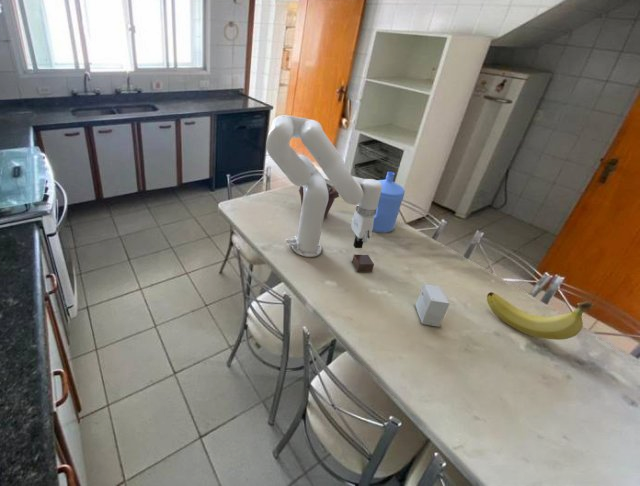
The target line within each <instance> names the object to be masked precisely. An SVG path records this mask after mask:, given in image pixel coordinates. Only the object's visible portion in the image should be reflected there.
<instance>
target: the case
mask: <svg viewBox="0 0 640 486" xmlns="http://www.w3.org/2000/svg"><path fill="white" fill-rule="evenodd" d="M326 185H327V188H328V194H329V199H328V204H327V207H326V210H325V214H324V219H323V220H325V219H326V218H327V216H328V214H329V212H330V211H331V208H332V206H333V203H334V201H335V199H337V198H340V195H339V193H338V192H337V191H336V189H335V188H334V186H333V185H332V184H329V183H327V182H326ZM298 192H299V196H300V207H301V208H302V203H303V194H304V193H303V186H299V188H298Z"/></svg>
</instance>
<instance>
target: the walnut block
mask: <svg viewBox="0 0 640 486" xmlns="http://www.w3.org/2000/svg"><path fill="white" fill-rule="evenodd" d="M351 263H352V265H353V268H355V271H356V272H357V273H373V271H374V266H375V262H374V261H373V260H372V258H371V256H370V255H369V254H353V256H352V261H351Z"/></svg>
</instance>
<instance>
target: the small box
mask: <svg viewBox="0 0 640 486" xmlns="http://www.w3.org/2000/svg"><path fill="white" fill-rule="evenodd" d="M449 306H450V301H449V300H448V297H447V296H446V294H445V292H444V290H443V288H442V286H438V285H434V284H427V283H423V285H422V287H421V290H420V292H419V295H418V298H417V301H416V304H415V309H416V312H417V314H418V317H419V320H420V322H421V324H422V325H426V326H431V327H432V326H433V327H438V328H440V327H441V324H442V322H443V320H444V318H445V316H446V313H447V310H448V309H449Z"/></svg>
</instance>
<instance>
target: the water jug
mask: <svg viewBox="0 0 640 486" xmlns="http://www.w3.org/2000/svg"><path fill="white" fill-rule="evenodd" d="M395 174H396V173H395V172H393V171H387V173H386V177H385V179H378V180H377V179H376V180H377V181H379V182H380V183H381V184H382V190H381V194H380V198H379V202H378V206H377V210H376V215H375V216H374V223H373V229H372V232H375V233H380V234H381V233H382V234H383V233H385V234H386V233H391V232H392V231H393V230H394V229H395V227H396V221H397V219H398V215H399V214H400V213H399V212H400V209H401V205H402V202H403V200H404V197H405V193H406V192H405V191H406V190H405V189H404V187H403V186H401V185H400V184H398V183H396V182H395V181H394V178H395Z"/></svg>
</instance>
